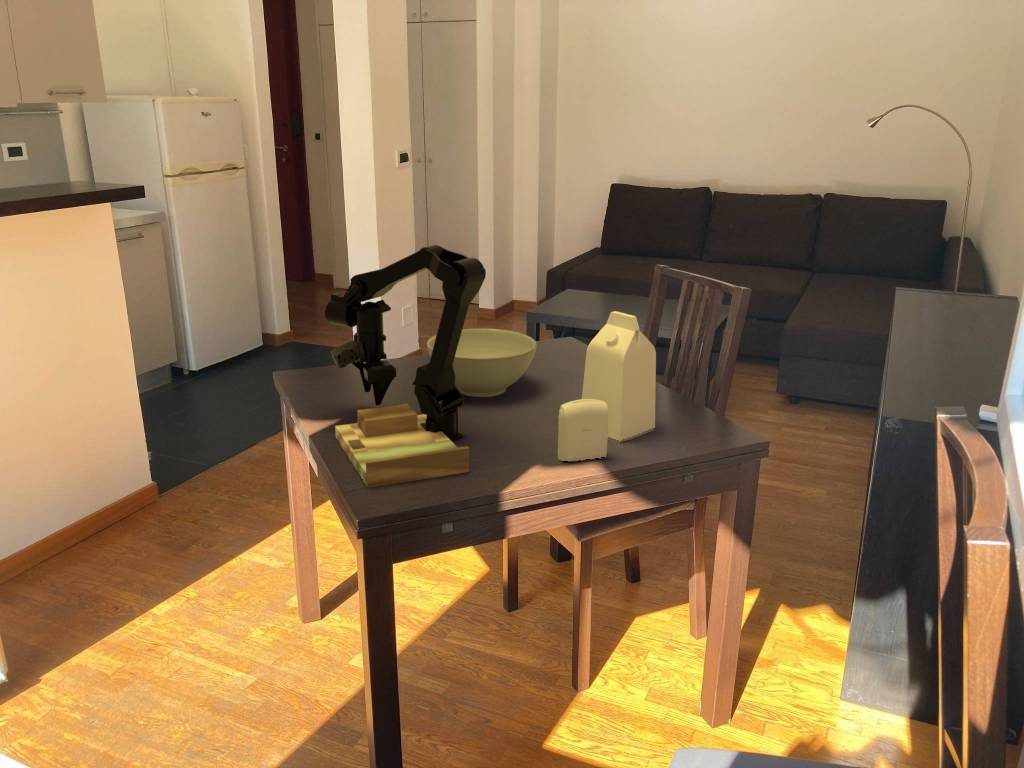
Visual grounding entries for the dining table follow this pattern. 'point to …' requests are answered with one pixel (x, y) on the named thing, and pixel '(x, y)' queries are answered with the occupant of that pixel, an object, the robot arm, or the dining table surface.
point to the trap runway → (402, 454)
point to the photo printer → (582, 430)
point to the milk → (622, 376)
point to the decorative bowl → (489, 360)
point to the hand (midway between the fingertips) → (372, 398)
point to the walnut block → (387, 420)
